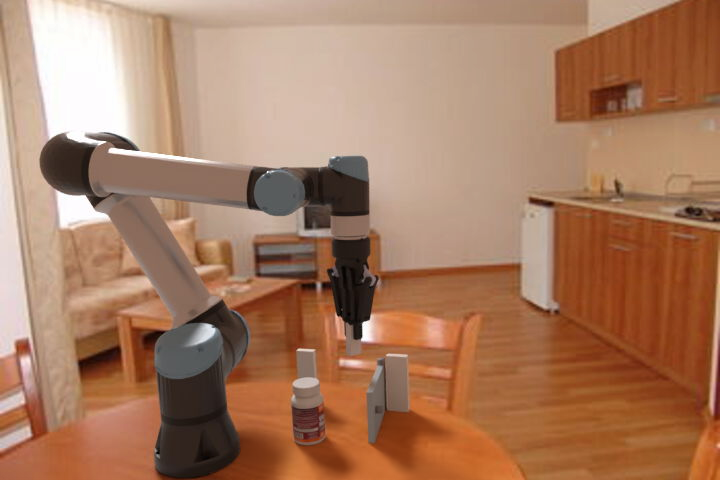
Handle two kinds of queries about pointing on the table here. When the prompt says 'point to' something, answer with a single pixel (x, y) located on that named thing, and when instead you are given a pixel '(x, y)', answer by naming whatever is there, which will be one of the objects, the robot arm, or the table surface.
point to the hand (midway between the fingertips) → (354, 353)
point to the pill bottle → (307, 412)
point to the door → (376, 400)
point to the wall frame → (394, 374)
